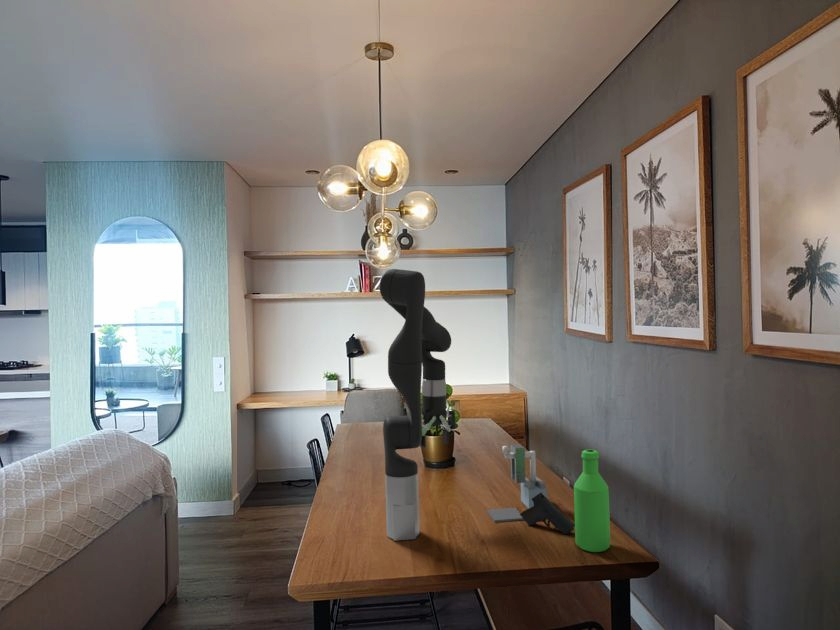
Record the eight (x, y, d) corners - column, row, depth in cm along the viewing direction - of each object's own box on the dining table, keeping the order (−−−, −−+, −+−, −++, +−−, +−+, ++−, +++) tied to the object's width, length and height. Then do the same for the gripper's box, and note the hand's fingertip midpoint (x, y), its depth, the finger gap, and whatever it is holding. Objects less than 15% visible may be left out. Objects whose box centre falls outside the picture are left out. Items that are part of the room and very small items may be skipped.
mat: (523, 519, 163) (523, 517, 163) (494, 522, 161) (494, 520, 161) (514, 509, 172) (514, 507, 172) (486, 511, 170) (486, 509, 170)
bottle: (587, 555, 137) (584, 456, 138) (568, 542, 146) (566, 448, 146) (617, 550, 140) (614, 453, 140) (597, 538, 148) (595, 445, 148)
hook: (525, 482, 173) (524, 447, 173) (516, 483, 173) (515, 448, 173) (520, 477, 178) (519, 443, 178) (511, 478, 178) (510, 444, 178)
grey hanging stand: (547, 507, 172) (545, 447, 173) (507, 510, 171) (506, 449, 171) (538, 499, 180) (537, 441, 180) (500, 502, 179) (499, 443, 179)
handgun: (523, 512, 162) (540, 488, 159) (558, 548, 155) (577, 524, 152) (518, 515, 160) (536, 491, 156) (554, 552, 153) (573, 527, 149)
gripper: (420, 397, 163) (421, 451, 163) (459, 392, 170) (460, 444, 171) (408, 393, 169) (408, 445, 170) (446, 389, 176) (446, 439, 177)
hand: (434, 445), depth 170 cm, fingers open, 8 cm apart
